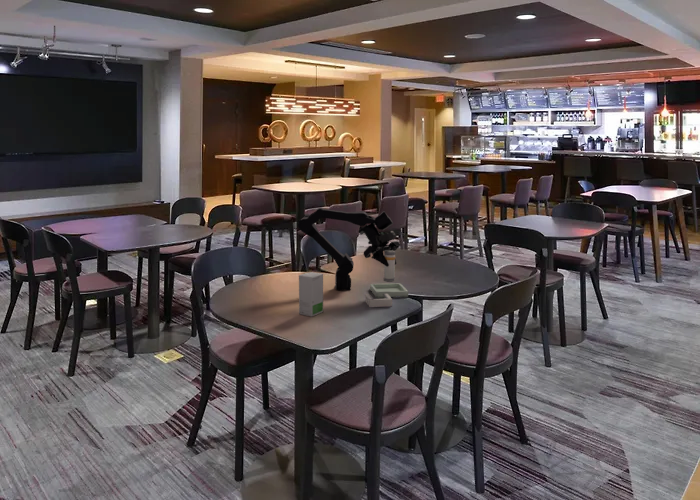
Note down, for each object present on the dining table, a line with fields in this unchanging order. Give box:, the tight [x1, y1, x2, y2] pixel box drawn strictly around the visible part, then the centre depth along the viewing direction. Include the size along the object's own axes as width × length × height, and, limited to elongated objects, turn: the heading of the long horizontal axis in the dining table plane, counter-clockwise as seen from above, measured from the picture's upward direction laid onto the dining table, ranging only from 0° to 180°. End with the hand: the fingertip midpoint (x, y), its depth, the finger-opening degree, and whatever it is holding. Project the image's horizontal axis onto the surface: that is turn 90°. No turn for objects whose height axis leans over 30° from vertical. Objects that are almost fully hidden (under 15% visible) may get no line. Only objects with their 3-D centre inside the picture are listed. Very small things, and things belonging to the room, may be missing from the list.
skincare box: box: [298, 271, 324, 317], centre depth 225 cm, size 8×7×16 cm
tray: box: [369, 282, 409, 299], centre depth 256 cm, size 14×14×2 cm
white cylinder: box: [383, 250, 397, 283], centre depth 251 cm, size 5×5×13 cm
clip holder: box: [364, 293, 393, 308], centre depth 240 cm, size 9×8×3 cm
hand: (391, 265), depth 250 cm, fingers closed on white cylinder, 5 cm apart
